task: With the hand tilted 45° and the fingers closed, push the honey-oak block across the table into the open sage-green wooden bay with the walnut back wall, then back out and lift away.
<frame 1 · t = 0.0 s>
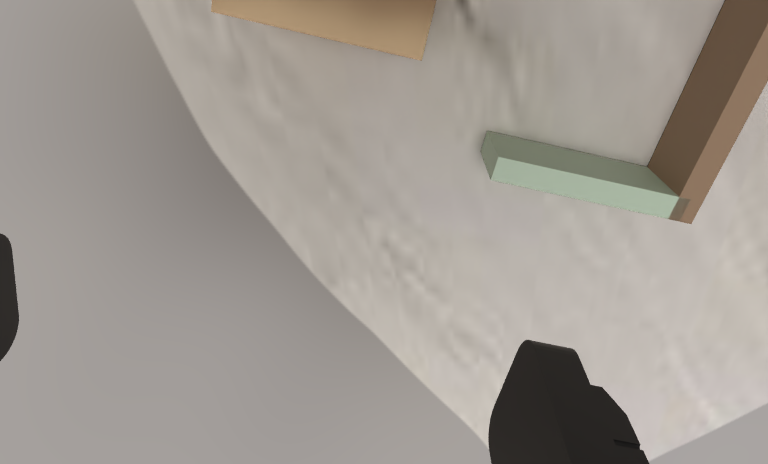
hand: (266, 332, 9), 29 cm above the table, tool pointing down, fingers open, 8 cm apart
bay: (629, 10, 34), on the table
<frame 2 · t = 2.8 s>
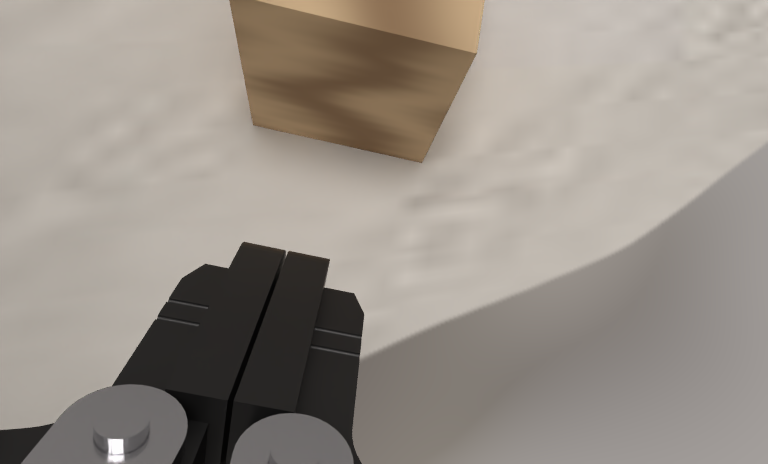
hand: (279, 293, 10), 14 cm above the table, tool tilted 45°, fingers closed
oak block: (358, 54, 28), on the table
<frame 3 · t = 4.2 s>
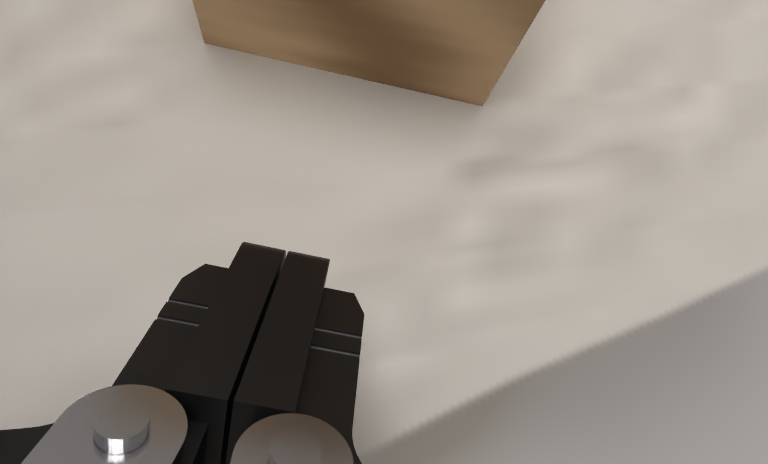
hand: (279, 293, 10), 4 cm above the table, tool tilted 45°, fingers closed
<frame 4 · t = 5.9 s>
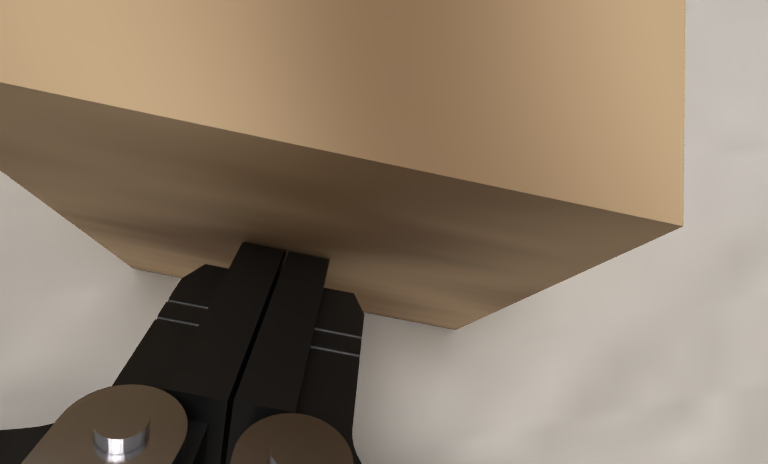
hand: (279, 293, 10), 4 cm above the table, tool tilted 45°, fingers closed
oak block: (337, 119, 15), on the table
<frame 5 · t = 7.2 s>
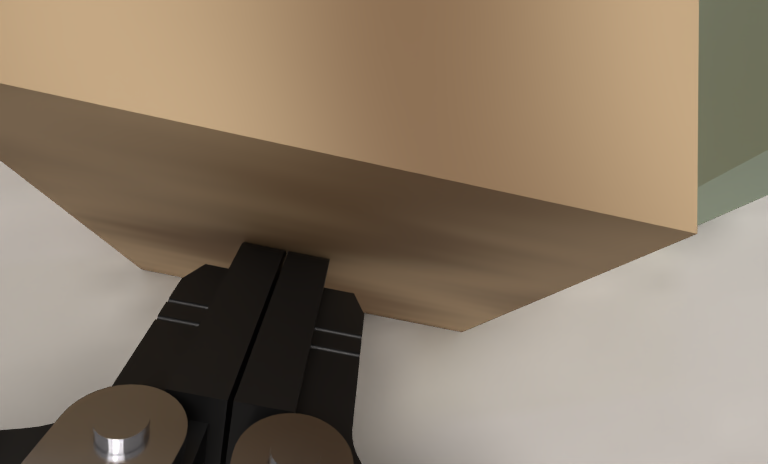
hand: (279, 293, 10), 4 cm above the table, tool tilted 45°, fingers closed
oak block: (344, 122, 15), on the table, touching gripper
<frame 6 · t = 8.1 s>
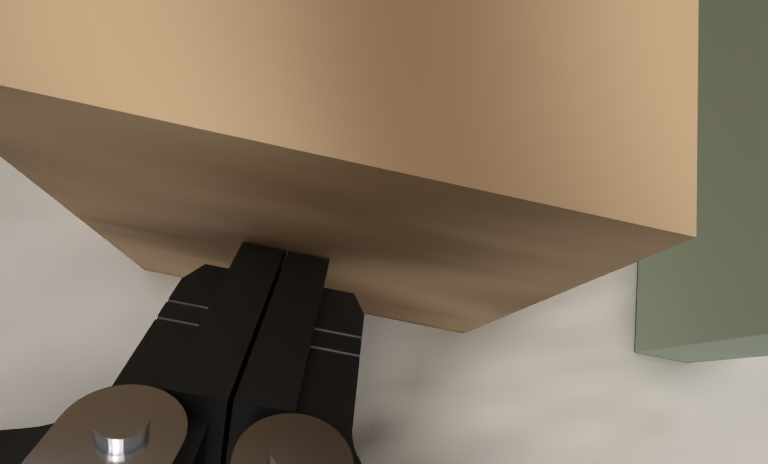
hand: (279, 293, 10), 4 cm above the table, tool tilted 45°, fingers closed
oak block: (346, 124, 15), on the table
bay: (339, 77, 16), on the table
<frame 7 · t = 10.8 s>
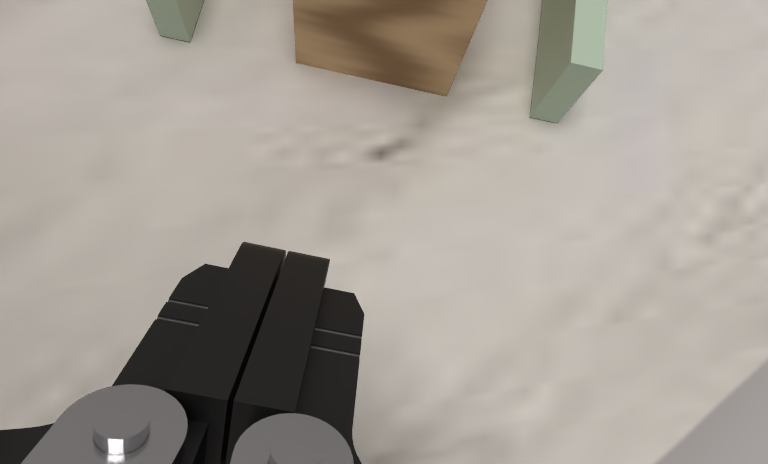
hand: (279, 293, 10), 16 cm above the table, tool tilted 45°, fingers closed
oak block: (388, 3, 31), on the table
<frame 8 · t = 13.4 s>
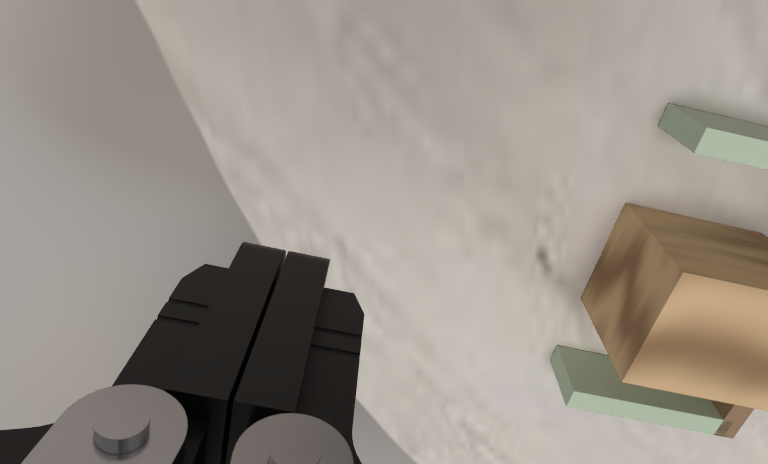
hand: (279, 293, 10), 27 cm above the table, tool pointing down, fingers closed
oak block: (667, 266, 41), on the table
bay: (681, 264, 40), on the table
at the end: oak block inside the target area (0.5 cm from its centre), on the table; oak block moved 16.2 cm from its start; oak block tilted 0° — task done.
